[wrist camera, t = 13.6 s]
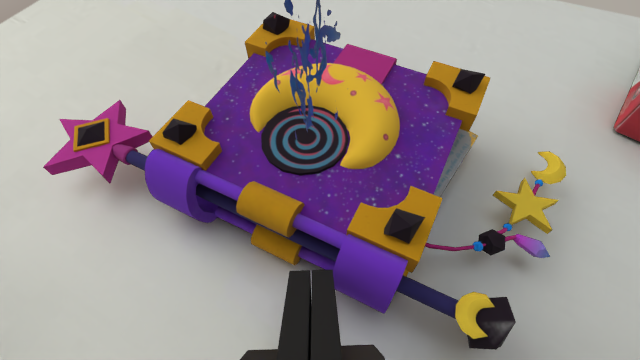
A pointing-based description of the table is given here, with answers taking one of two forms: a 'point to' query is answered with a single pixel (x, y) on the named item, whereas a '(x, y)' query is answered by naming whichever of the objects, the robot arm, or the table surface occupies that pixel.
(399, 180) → the book
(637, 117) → the ink box
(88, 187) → the table surface
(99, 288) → the table surface
